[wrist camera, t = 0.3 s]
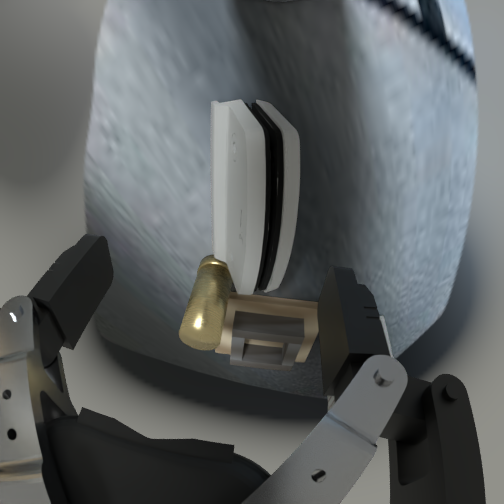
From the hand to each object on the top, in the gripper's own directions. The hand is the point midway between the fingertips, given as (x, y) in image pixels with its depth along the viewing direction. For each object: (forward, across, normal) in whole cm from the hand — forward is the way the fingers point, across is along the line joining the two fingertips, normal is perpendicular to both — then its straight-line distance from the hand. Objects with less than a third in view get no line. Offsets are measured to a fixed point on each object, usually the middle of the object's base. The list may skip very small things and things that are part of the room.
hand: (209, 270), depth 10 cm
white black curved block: (+19, 0, +4) cm, 19 cm away
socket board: (+20, -4, +25) cm, 32 cm away
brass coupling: (+19, +3, +15) cm, 25 cm away
